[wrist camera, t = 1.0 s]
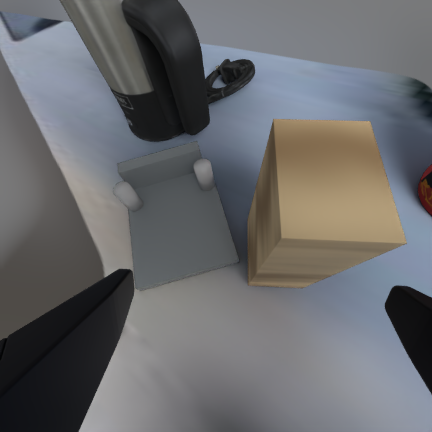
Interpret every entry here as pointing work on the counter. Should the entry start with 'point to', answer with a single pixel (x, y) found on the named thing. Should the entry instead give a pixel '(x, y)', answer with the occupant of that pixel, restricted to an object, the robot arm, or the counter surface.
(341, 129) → the oak block
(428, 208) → the canned food
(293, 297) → the counter surface
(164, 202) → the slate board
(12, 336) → the robot arm
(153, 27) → the milk frother
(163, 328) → the counter surface
